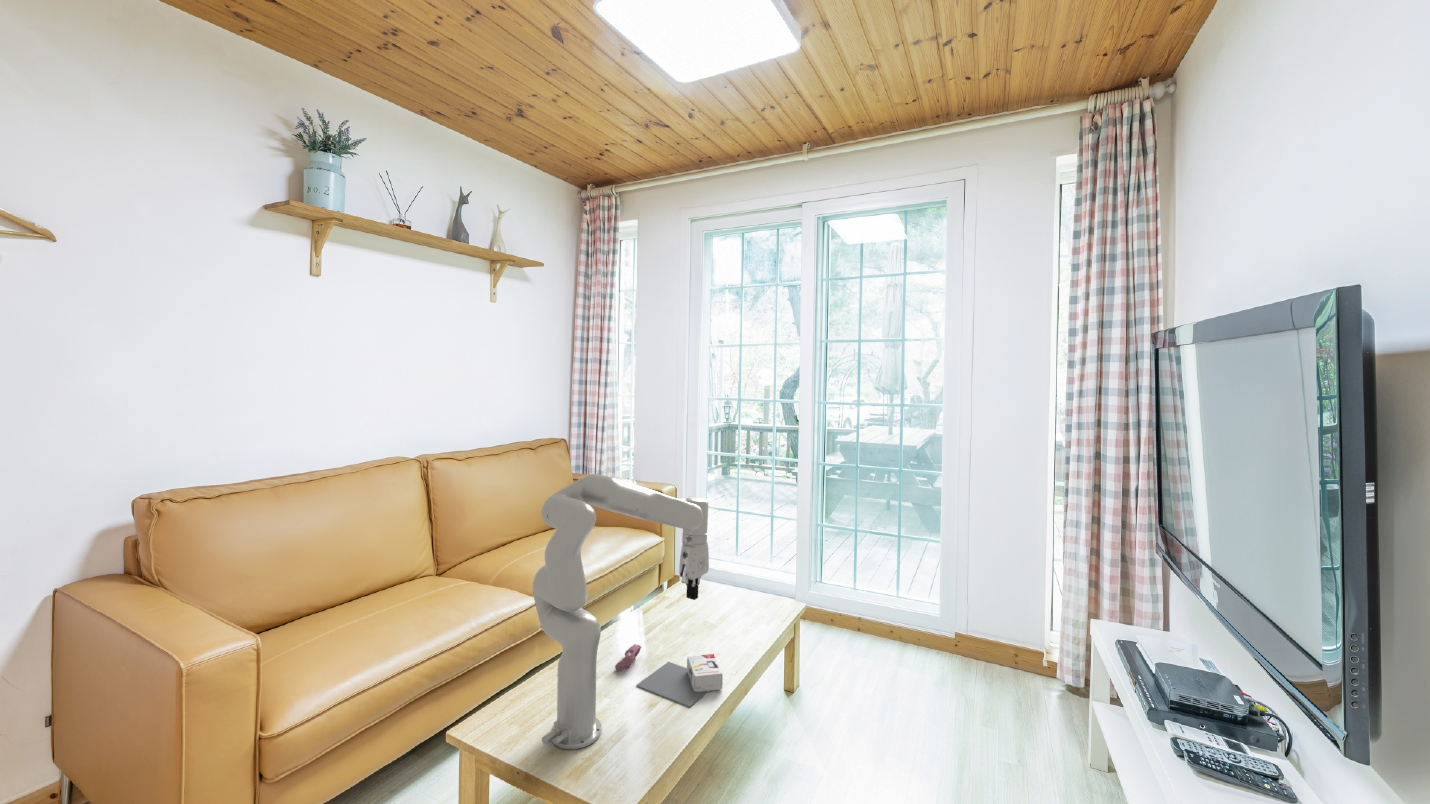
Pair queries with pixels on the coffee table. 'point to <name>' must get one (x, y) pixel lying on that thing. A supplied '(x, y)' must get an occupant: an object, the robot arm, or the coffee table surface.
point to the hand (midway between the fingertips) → (692, 598)
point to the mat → (672, 684)
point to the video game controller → (628, 658)
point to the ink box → (704, 673)
